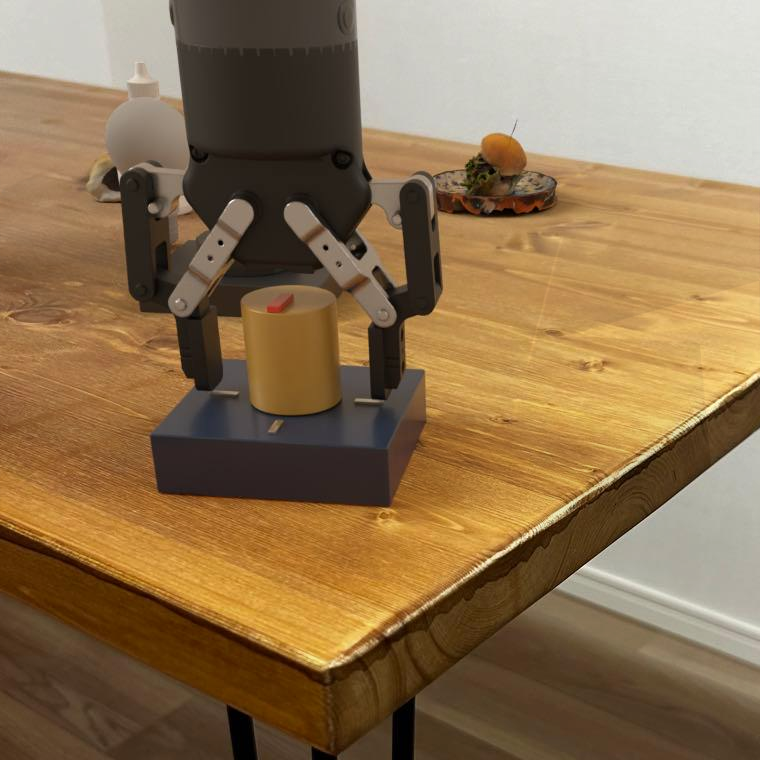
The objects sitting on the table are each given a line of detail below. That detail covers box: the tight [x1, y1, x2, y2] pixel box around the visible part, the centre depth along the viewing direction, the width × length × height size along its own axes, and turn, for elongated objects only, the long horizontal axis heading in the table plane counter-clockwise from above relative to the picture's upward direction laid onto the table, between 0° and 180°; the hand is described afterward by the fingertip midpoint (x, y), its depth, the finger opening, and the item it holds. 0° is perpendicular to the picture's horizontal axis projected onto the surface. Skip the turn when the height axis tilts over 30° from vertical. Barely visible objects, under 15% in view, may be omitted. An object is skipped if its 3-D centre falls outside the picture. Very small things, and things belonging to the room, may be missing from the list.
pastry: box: [85, 153, 121, 203], centre depth 107 cm, size 9×7×4 cm
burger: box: [432, 118, 559, 215], centre depth 106 cm, size 12×12×8 cm
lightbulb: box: [104, 97, 190, 246], centre depth 89 cm, size 6×6×11 cm
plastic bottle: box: [117, 61, 194, 217], centre depth 97 cm, size 4×6×12 cm
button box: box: [138, 229, 345, 318], centre depth 81 cm, size 12×10×4 cm
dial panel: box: [149, 358, 427, 508], centre depth 59 cm, size 11×10×3 cm
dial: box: [241, 285, 342, 415], centre depth 57 cm, size 4×4×5 cm
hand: (295, 390), depth 58 cm, fingers open, 8 cm apart
